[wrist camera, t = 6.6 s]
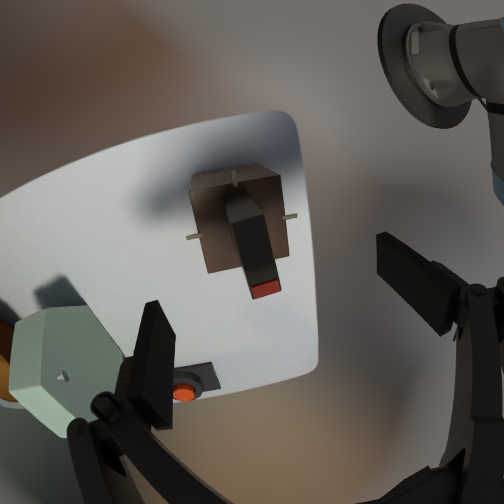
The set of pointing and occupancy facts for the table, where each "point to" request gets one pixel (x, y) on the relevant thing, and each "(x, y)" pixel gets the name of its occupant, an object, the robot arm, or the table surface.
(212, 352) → the table surface
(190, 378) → the button box
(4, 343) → the bowl
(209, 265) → the pegged wooden cube
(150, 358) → the robot arm
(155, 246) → the table surface
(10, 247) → the table surface
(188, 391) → the button
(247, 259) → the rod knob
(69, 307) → the sage hexagonal prism
